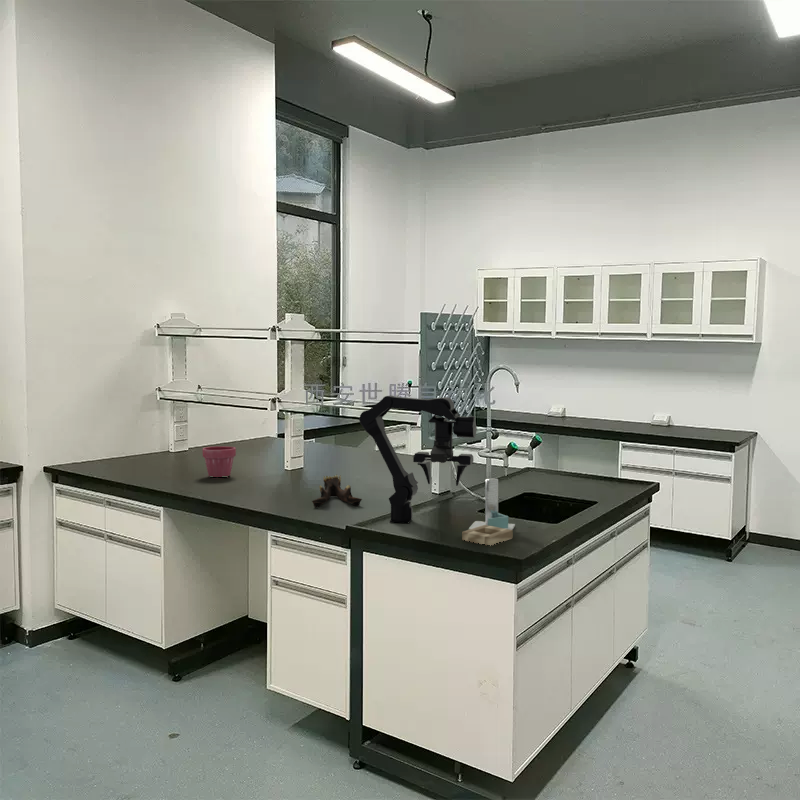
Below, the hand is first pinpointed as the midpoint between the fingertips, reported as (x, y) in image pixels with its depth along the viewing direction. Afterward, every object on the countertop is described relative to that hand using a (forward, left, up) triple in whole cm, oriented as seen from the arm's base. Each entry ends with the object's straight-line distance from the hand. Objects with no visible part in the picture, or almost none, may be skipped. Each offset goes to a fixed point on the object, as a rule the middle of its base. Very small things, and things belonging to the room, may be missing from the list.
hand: (443, 484), depth 236 cm
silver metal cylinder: (+16, -2, -12) cm, 20 cm away
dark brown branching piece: (-41, +29, -14) cm, 52 cm away
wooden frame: (+15, -16, -13) cm, 26 cm away
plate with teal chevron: (+16, -2, -13) cm, 21 cm away
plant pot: (-105, +70, -13) cm, 127 cm away
